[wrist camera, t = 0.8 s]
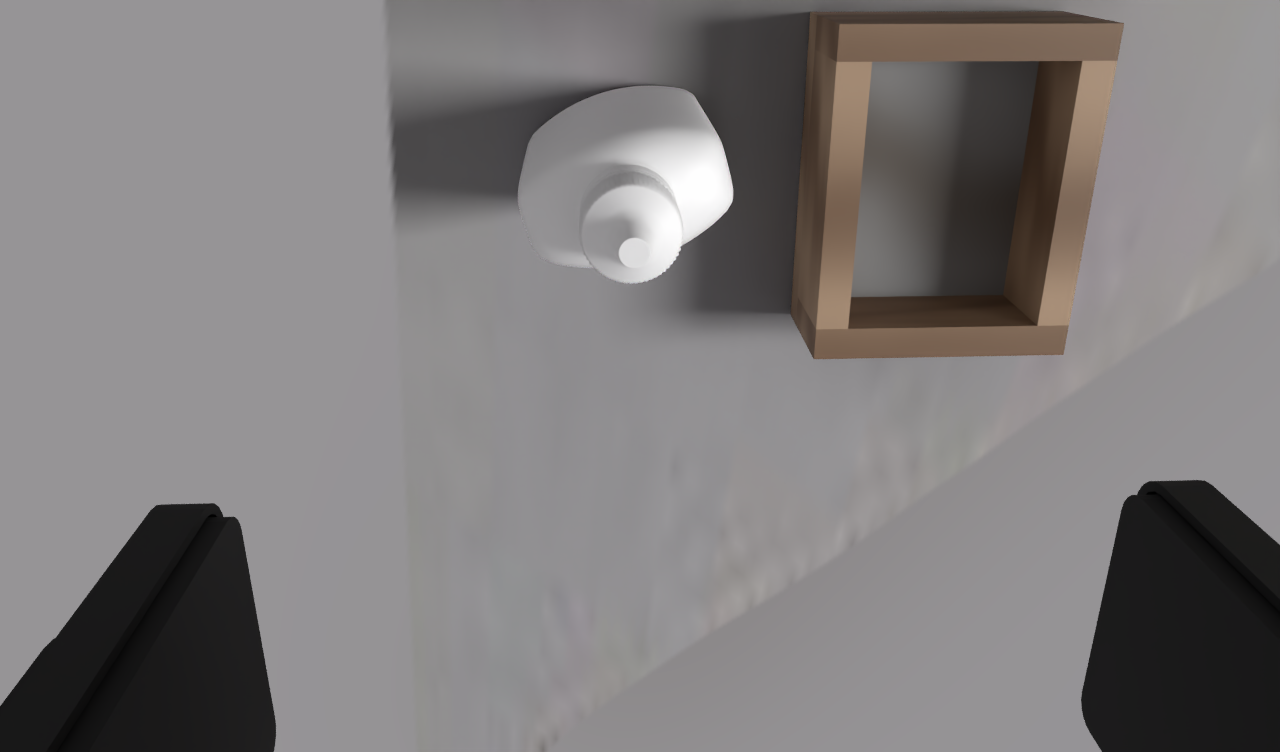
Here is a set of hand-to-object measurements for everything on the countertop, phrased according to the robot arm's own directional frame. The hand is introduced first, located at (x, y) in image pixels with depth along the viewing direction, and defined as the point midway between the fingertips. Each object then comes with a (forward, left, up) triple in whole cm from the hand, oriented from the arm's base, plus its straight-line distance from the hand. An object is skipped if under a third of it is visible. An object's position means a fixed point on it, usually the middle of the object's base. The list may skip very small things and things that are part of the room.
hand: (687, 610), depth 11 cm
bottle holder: (+1, +10, -25) cm, 26 cm away
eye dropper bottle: (0, 0, -25) cm, 25 cm away
